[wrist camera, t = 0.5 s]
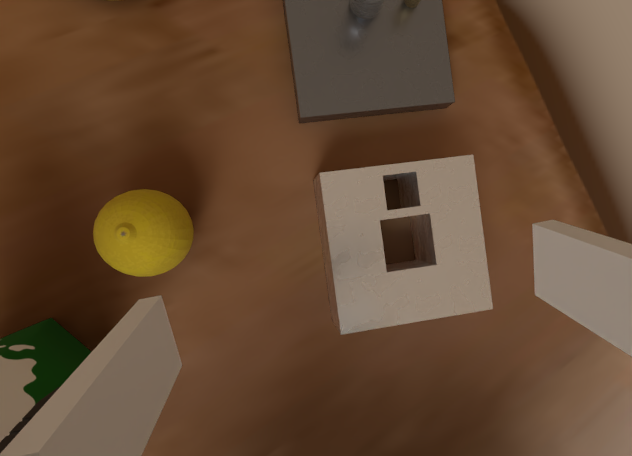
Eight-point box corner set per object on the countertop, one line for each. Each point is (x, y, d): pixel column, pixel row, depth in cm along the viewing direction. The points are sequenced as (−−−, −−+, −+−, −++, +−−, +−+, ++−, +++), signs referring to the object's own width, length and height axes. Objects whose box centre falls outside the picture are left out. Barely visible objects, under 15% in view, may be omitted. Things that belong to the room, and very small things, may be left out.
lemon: (141, 280, 28) (89, 300, 20) (115, 209, 28) (52, 201, 20) (213, 254, 29) (190, 264, 21) (188, 185, 28) (155, 167, 20)
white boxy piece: (464, 298, 31) (492, 309, 27) (331, 320, 30) (341, 334, 26) (447, 164, 31) (473, 154, 27) (313, 180, 29) (319, 172, 26)
